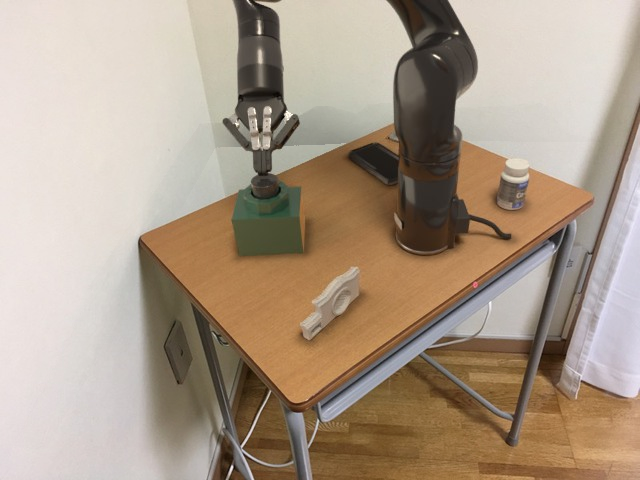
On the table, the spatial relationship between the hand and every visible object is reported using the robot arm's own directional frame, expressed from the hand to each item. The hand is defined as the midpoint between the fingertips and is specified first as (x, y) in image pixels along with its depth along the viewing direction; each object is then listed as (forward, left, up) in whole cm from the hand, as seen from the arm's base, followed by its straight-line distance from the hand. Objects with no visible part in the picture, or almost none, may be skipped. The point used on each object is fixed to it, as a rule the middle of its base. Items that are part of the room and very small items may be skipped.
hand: (263, 174), depth 83 cm
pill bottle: (-43, -7, -13) cm, 46 cm away
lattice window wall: (-10, +19, -13) cm, 25 cm away
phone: (-21, -23, -13) cm, 34 cm away
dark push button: (0, 0, -4) cm, 4 cm away
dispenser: (0, 0, -13) cm, 13 cm away
